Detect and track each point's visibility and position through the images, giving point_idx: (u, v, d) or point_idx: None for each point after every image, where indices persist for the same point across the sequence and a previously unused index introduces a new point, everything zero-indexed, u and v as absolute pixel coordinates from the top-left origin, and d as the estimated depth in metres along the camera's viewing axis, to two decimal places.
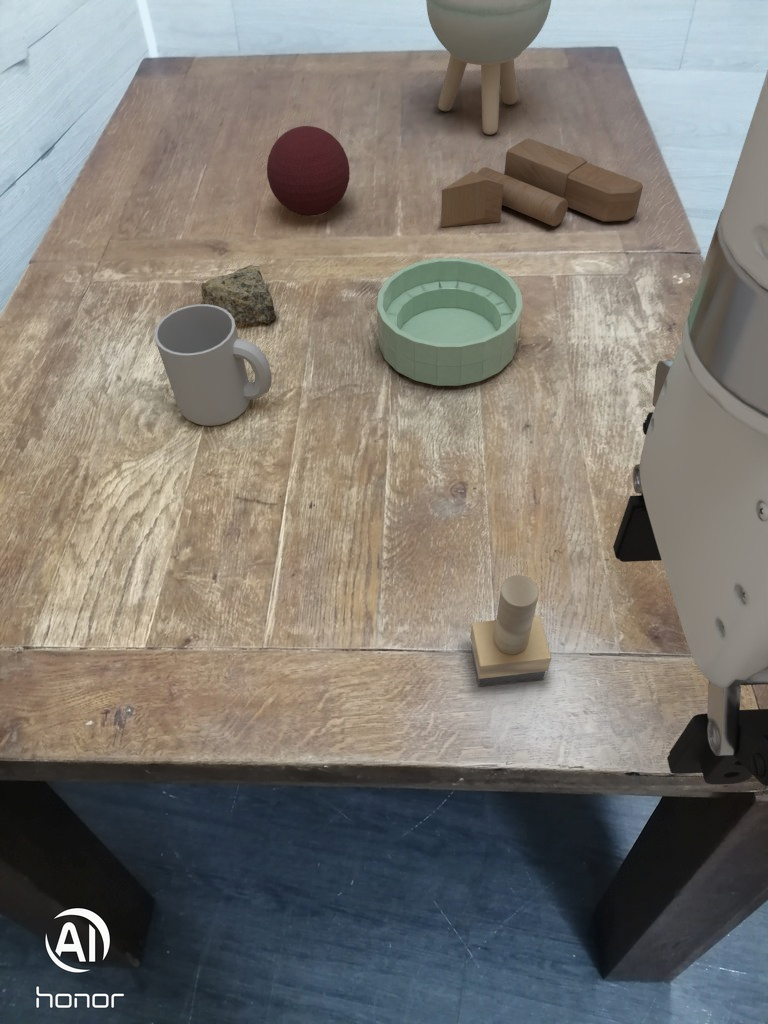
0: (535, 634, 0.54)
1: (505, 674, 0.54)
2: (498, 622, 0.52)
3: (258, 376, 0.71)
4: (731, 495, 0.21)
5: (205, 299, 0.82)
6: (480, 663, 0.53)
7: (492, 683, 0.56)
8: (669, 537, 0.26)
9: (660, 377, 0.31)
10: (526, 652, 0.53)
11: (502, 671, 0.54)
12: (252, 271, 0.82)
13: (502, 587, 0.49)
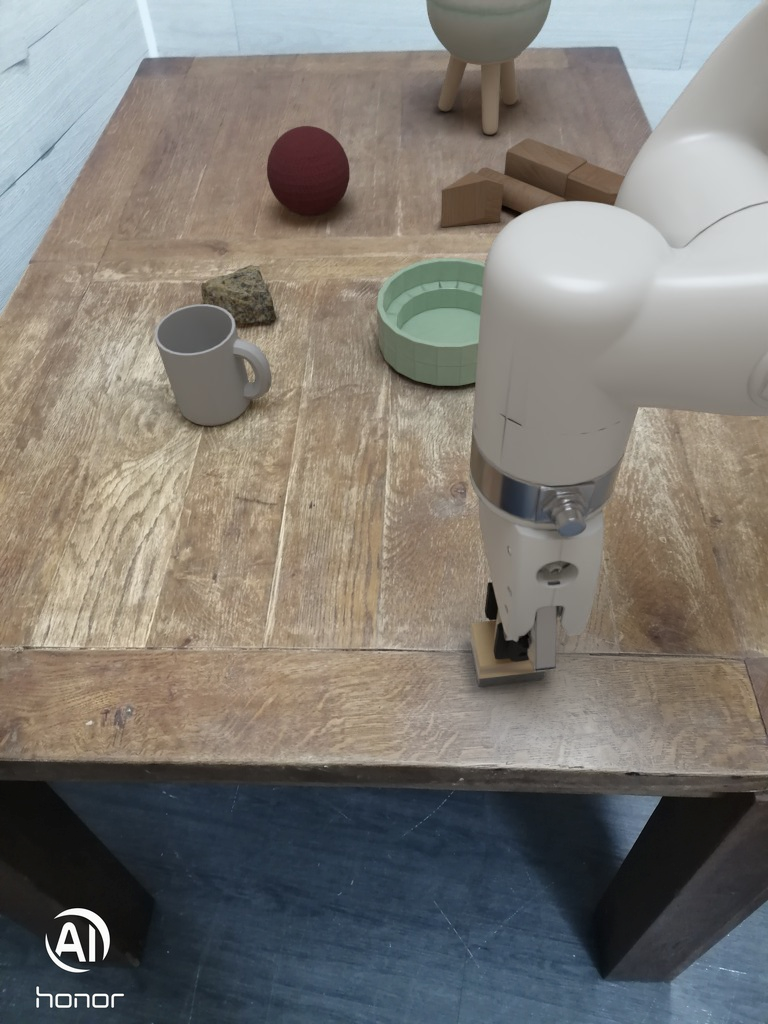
0: None
1: (505, 674, 0.54)
2: (498, 622, 0.52)
3: (258, 376, 0.71)
4: (500, 542, 0.41)
5: (205, 299, 0.82)
6: (480, 663, 0.53)
7: (492, 683, 0.56)
8: (488, 560, 0.46)
9: None
10: None
11: (502, 671, 0.54)
12: (252, 271, 0.82)
13: None
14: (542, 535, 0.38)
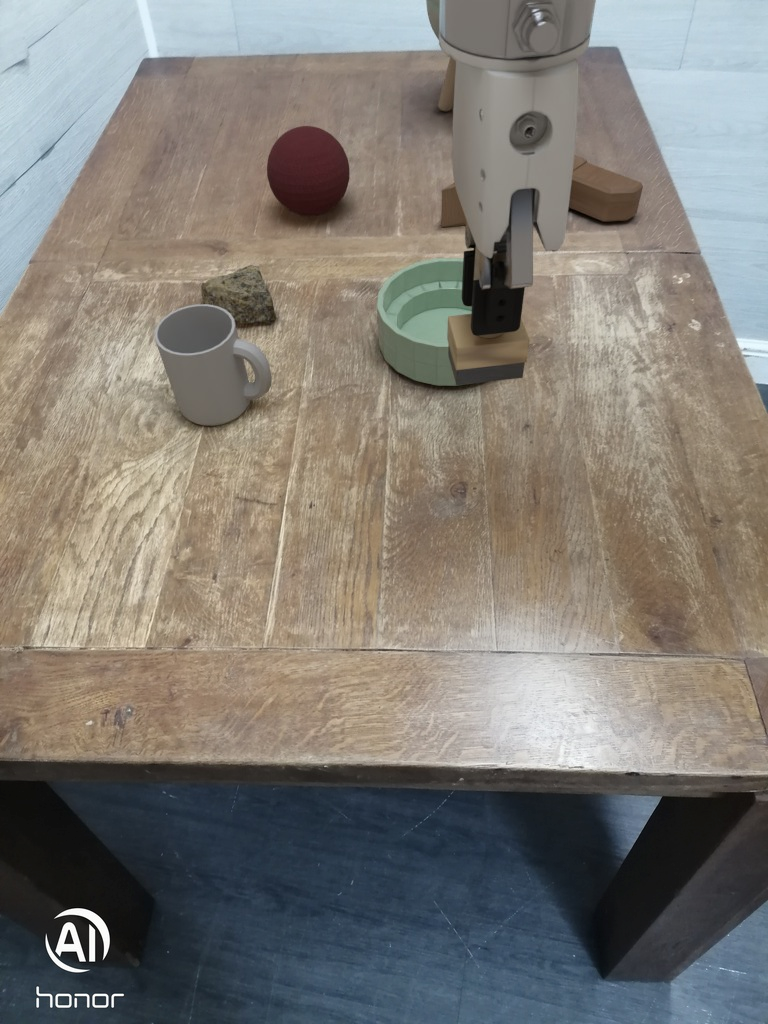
0: None
1: (483, 364, 0.53)
2: None
3: (258, 376, 0.71)
4: (472, 120, 0.39)
5: (205, 299, 0.82)
6: (457, 346, 0.52)
7: (470, 380, 0.54)
8: (462, 188, 0.44)
9: None
10: (504, 336, 0.52)
11: (480, 358, 0.52)
12: (252, 271, 0.82)
13: None
14: (514, 75, 0.36)
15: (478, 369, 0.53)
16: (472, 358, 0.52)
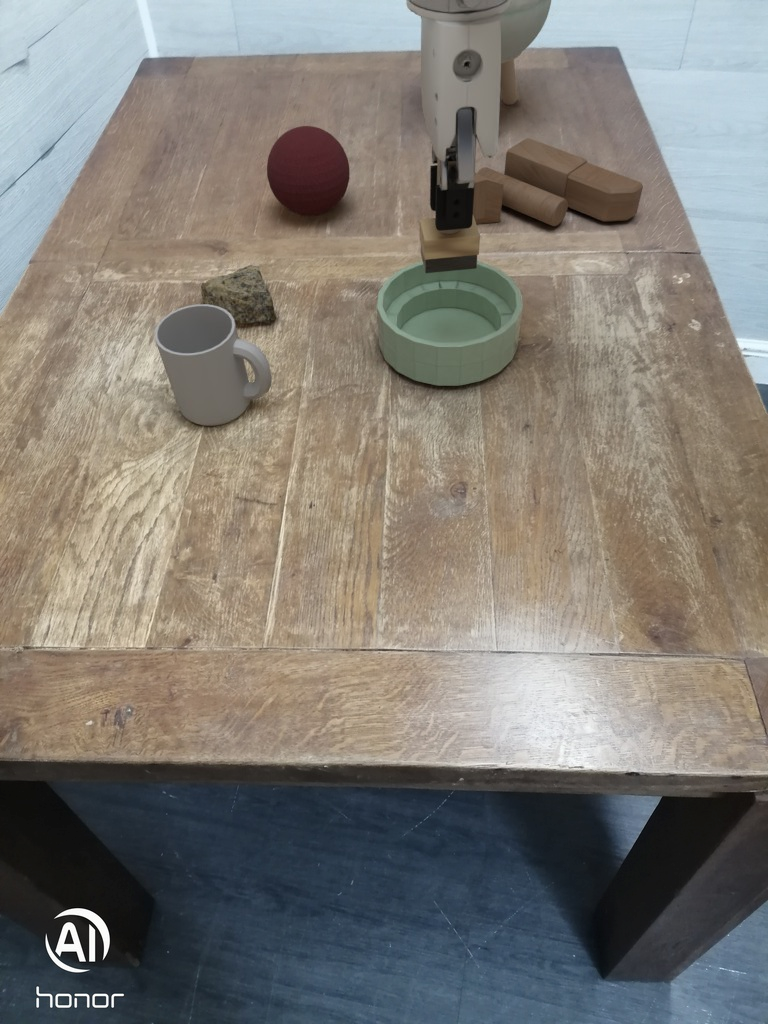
0: None
1: (445, 256, 0.70)
2: None
3: (258, 376, 0.71)
4: (429, 58, 0.56)
5: (205, 299, 0.82)
6: (424, 239, 0.68)
7: (436, 269, 0.71)
8: (426, 112, 0.61)
9: None
10: (461, 232, 0.69)
11: (442, 250, 0.69)
12: (252, 271, 0.82)
13: None
14: (455, 23, 0.53)
15: (441, 259, 0.70)
16: (436, 249, 0.69)
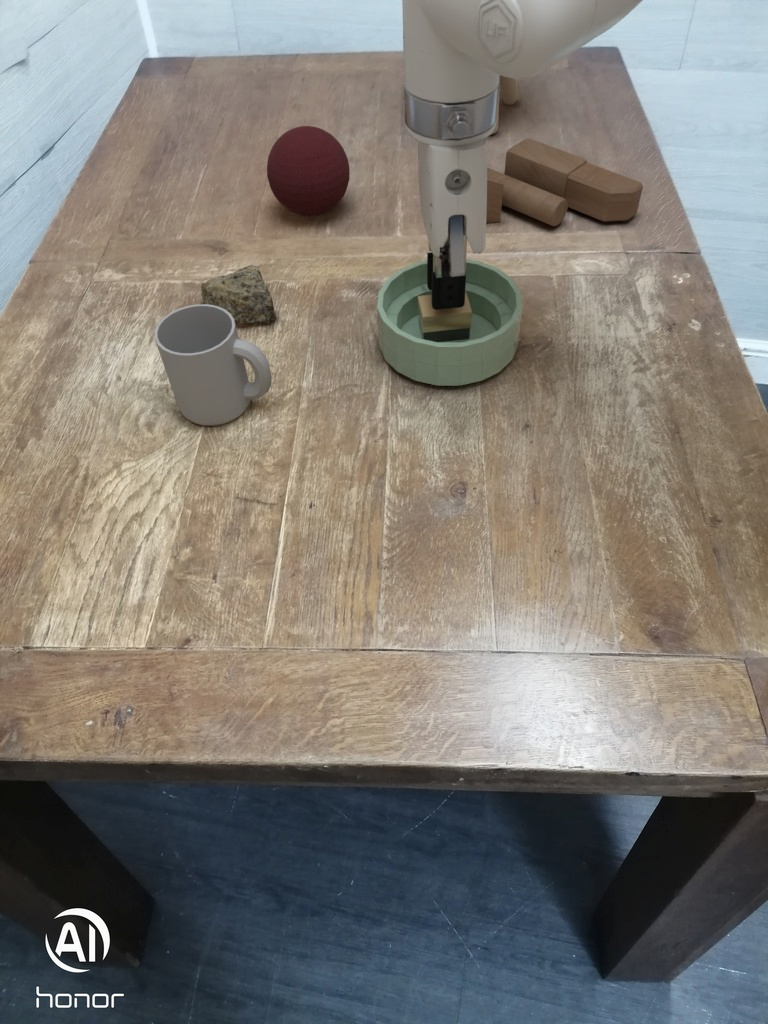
0: None
1: (441, 329, 0.78)
2: None
3: (258, 376, 0.71)
4: (424, 172, 0.64)
5: (205, 299, 0.82)
6: (422, 315, 0.76)
7: (433, 340, 0.79)
8: (422, 212, 0.69)
9: None
10: (455, 309, 0.77)
11: (438, 324, 0.77)
12: (252, 271, 0.82)
13: None
14: (447, 148, 0.61)
15: (438, 332, 0.78)
16: (433, 324, 0.77)
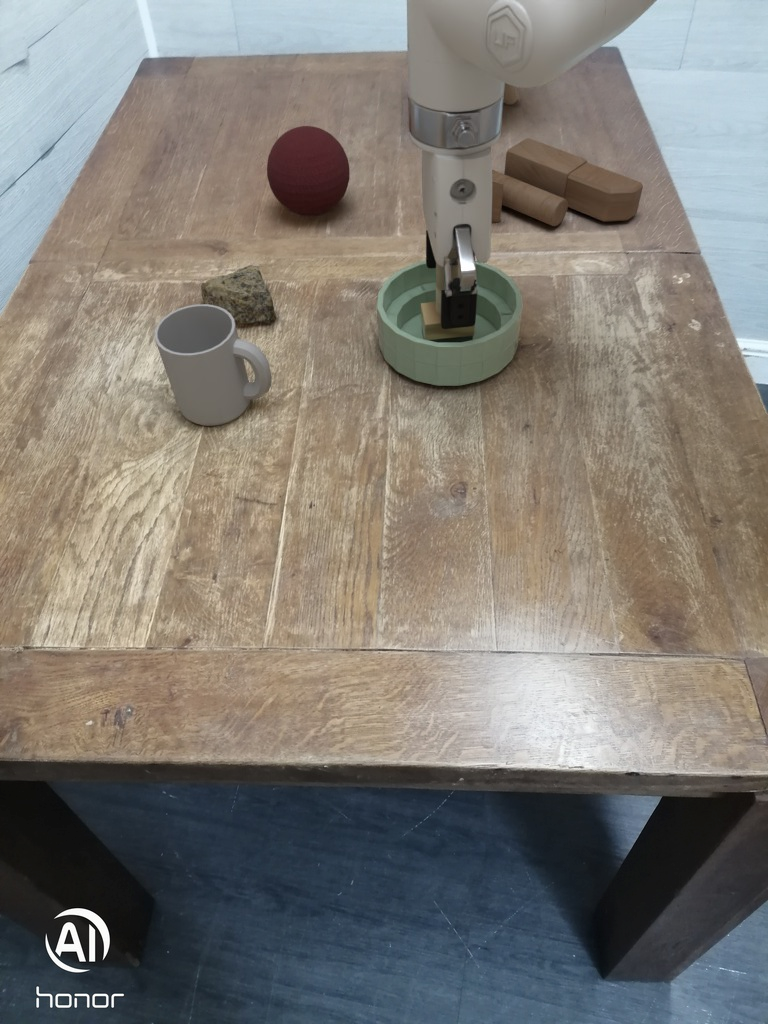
0: None
1: (443, 336, 0.77)
2: (436, 287, 0.74)
3: (258, 376, 0.71)
4: (429, 181, 0.63)
5: (205, 299, 0.82)
6: (425, 323, 0.76)
7: None
8: (426, 220, 0.69)
9: None
10: None
11: (441, 332, 0.76)
12: (252, 271, 0.82)
13: None
14: (452, 157, 0.60)
15: (440, 340, 0.77)
16: (436, 332, 0.76)
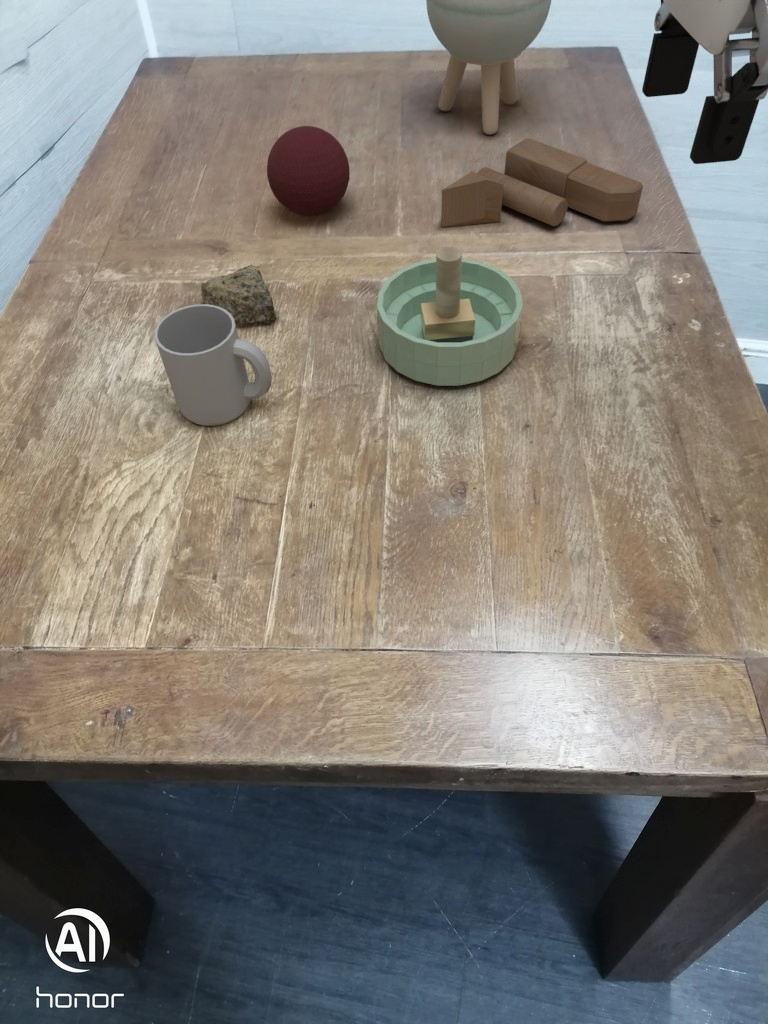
0: (465, 308, 0.77)
1: (443, 336, 0.77)
2: (436, 287, 0.74)
3: (258, 376, 0.71)
4: None
5: (205, 299, 0.82)
6: (425, 323, 0.76)
7: None
8: None
9: None
10: (458, 317, 0.76)
11: (441, 332, 0.76)
12: (252, 271, 0.82)
13: (437, 252, 0.72)
14: None
15: (440, 340, 0.77)
16: (436, 332, 0.76)
